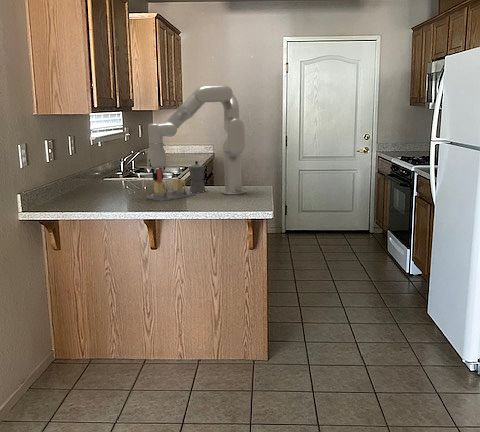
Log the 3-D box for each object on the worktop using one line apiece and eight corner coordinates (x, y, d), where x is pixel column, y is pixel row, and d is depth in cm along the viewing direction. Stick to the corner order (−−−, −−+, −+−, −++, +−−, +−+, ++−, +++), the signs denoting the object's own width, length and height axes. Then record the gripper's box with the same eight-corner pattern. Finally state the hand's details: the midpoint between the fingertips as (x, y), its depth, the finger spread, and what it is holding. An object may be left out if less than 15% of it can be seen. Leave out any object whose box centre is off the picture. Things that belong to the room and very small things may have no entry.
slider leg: (168, 195, 299) (167, 169, 296) (163, 196, 297) (162, 170, 294) (159, 194, 305) (158, 168, 302) (154, 194, 303) (152, 169, 300)
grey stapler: (173, 194, 316) (166, 178, 313) (165, 197, 314) (158, 181, 311) (166, 190, 331) (159, 175, 328) (159, 193, 330) (152, 178, 327)
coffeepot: (204, 193, 315) (202, 162, 311) (187, 193, 315) (186, 162, 312) (207, 189, 330) (206, 159, 326) (192, 189, 330) (190, 160, 327)
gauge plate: (195, 195, 309) (195, 179, 307) (161, 200, 292) (160, 184, 291) (180, 193, 318) (179, 178, 317) (146, 198, 302) (145, 182, 300)
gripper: (164, 145, 305) (166, 177, 309) (139, 147, 294) (141, 181, 298) (172, 145, 300) (174, 178, 304) (147, 147, 289) (149, 182, 292)
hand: (158, 179), depth 301 cm, fingers closed on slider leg, 3 cm apart
